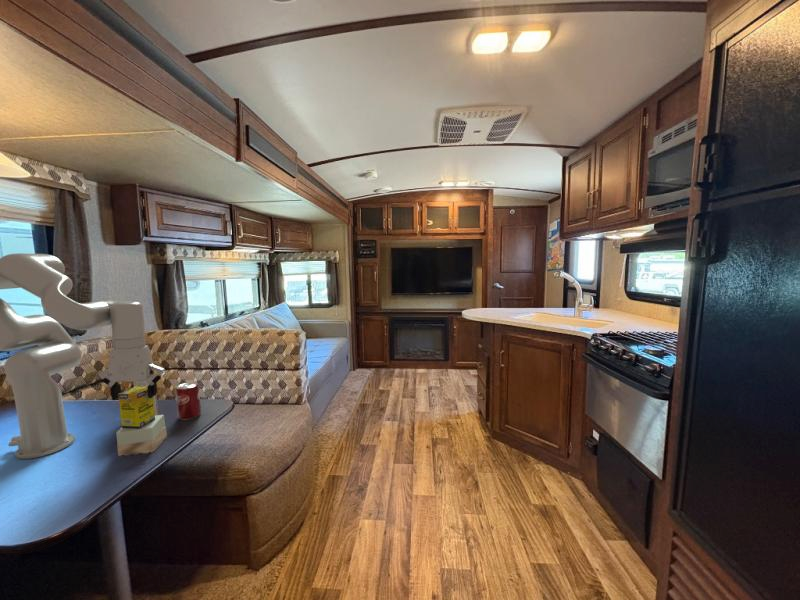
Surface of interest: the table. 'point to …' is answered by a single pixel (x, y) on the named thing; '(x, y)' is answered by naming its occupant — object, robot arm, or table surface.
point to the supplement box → (136, 408)
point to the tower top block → (141, 432)
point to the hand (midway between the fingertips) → (134, 397)
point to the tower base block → (142, 445)
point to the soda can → (188, 400)
